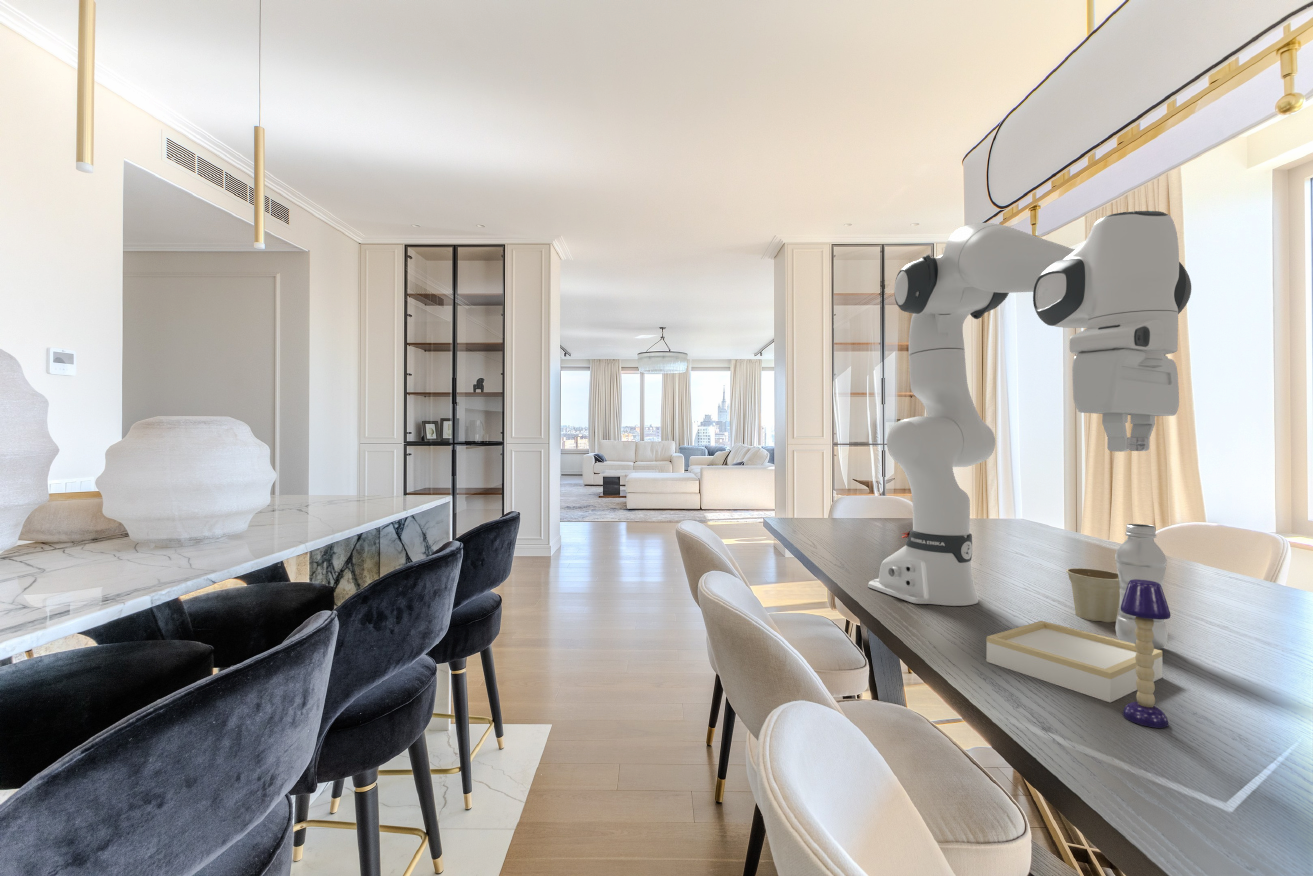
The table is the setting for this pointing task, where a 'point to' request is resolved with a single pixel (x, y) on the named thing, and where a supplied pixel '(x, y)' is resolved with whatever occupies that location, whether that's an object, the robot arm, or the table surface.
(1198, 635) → the table surface
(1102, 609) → the flower pot
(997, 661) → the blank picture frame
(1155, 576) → the plastic bottle
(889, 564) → the robot arm
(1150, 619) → the toy lamp
